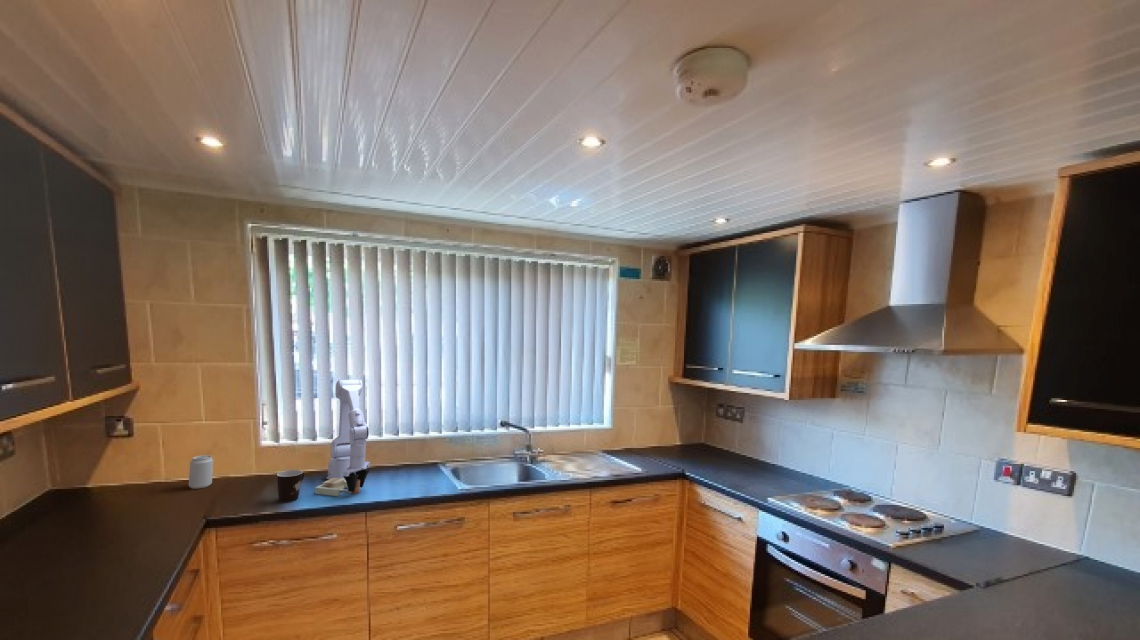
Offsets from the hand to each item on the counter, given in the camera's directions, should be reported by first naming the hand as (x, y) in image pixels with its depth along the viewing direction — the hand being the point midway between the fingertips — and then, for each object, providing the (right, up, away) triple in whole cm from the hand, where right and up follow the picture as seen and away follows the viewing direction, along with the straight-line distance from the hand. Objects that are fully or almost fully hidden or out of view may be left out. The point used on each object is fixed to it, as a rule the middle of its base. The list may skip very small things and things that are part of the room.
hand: (355, 489), depth 188 cm
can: (-63, +1, 0) cm, 63 cm away
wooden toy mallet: (-5, -1, +1) cm, 6 cm away
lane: (-9, -1, +1) cm, 9 cm away
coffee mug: (-20, -1, -9) cm, 22 cm away
